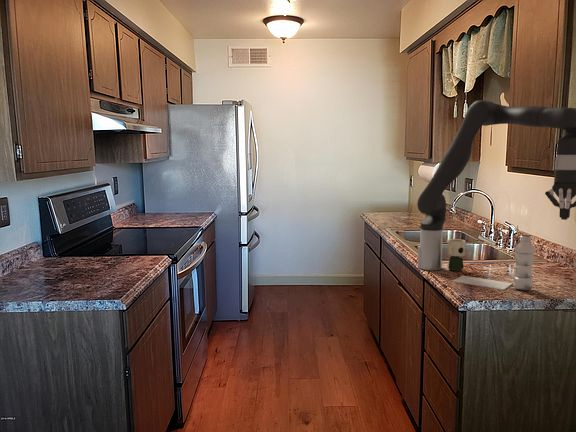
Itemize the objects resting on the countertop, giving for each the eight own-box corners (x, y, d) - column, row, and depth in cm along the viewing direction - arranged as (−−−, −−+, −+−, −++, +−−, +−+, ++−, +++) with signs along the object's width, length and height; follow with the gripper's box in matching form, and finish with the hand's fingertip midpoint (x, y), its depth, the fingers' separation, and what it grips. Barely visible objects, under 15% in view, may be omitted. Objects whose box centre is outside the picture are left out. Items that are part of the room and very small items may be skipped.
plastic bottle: (509, 289, 174) (512, 235, 171) (516, 286, 178) (519, 233, 176) (528, 293, 169) (531, 237, 166) (535, 289, 174) (538, 235, 171)
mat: (452, 281, 186) (452, 280, 186) (462, 276, 193) (462, 275, 193) (503, 290, 173) (504, 289, 173) (512, 284, 181) (512, 283, 181)
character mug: (457, 274, 197) (458, 243, 195) (441, 271, 202) (442, 241, 200) (469, 269, 204) (470, 239, 202) (454, 266, 209) (455, 237, 208)
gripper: (543, 168, 162) (540, 219, 164) (588, 169, 153) (584, 222, 155) (548, 167, 167) (545, 216, 170) (592, 168, 159) (589, 219, 161)
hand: (564, 219), depth 162 cm, fingers closed
